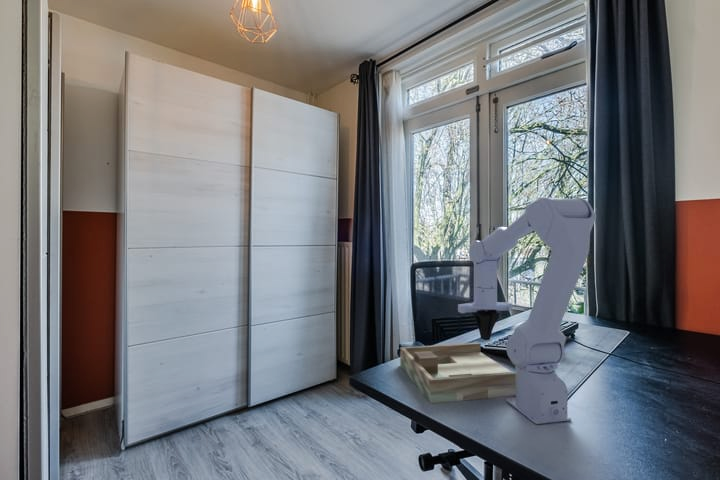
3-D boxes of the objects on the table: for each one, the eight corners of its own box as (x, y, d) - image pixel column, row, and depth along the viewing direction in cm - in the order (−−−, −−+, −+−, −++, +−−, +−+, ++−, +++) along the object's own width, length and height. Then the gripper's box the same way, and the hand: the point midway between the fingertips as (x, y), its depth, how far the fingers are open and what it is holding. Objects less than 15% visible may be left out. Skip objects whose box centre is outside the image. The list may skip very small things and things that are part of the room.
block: (437, 373, 81) (437, 357, 81) (420, 374, 80) (420, 358, 80) (430, 366, 86) (430, 351, 86) (414, 367, 85) (414, 352, 85)
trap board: (529, 394, 76) (529, 372, 76) (430, 403, 72) (430, 380, 71) (478, 359, 97) (478, 342, 97) (400, 365, 93) (400, 347, 93)
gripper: (500, 284, 92) (500, 333, 92) (452, 285, 89) (452, 336, 89) (517, 287, 85) (517, 340, 85) (465, 289, 82) (465, 344, 82)
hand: (485, 339), depth 86 cm, fingers closed
